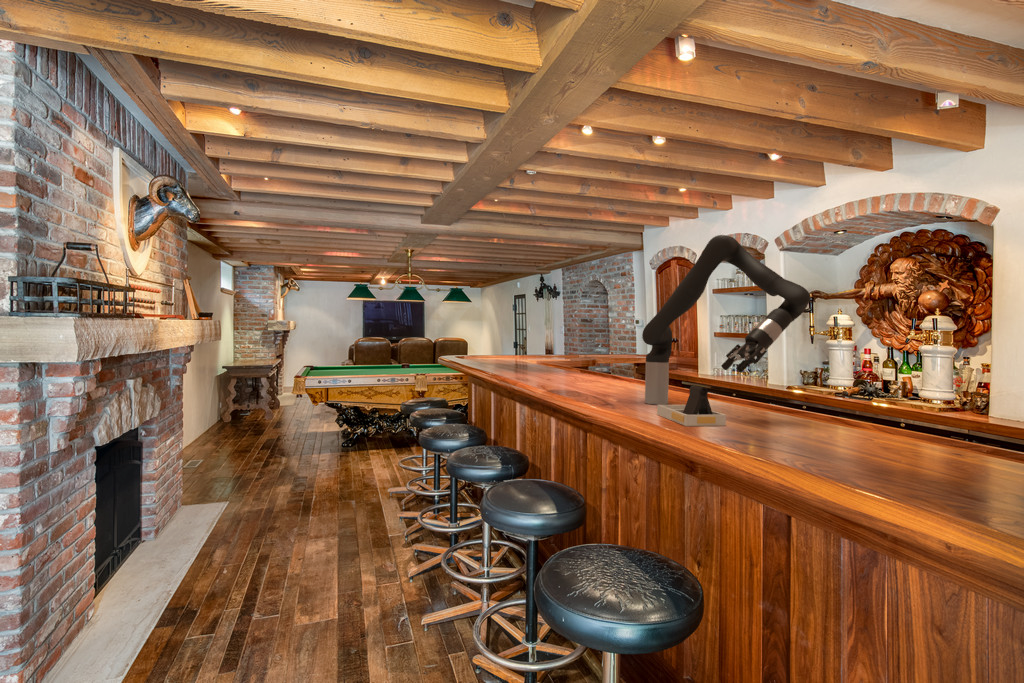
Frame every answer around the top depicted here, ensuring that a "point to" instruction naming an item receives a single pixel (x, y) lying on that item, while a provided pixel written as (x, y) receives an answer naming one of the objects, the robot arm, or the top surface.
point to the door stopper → (698, 402)
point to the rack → (690, 416)
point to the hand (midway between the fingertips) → (730, 369)
